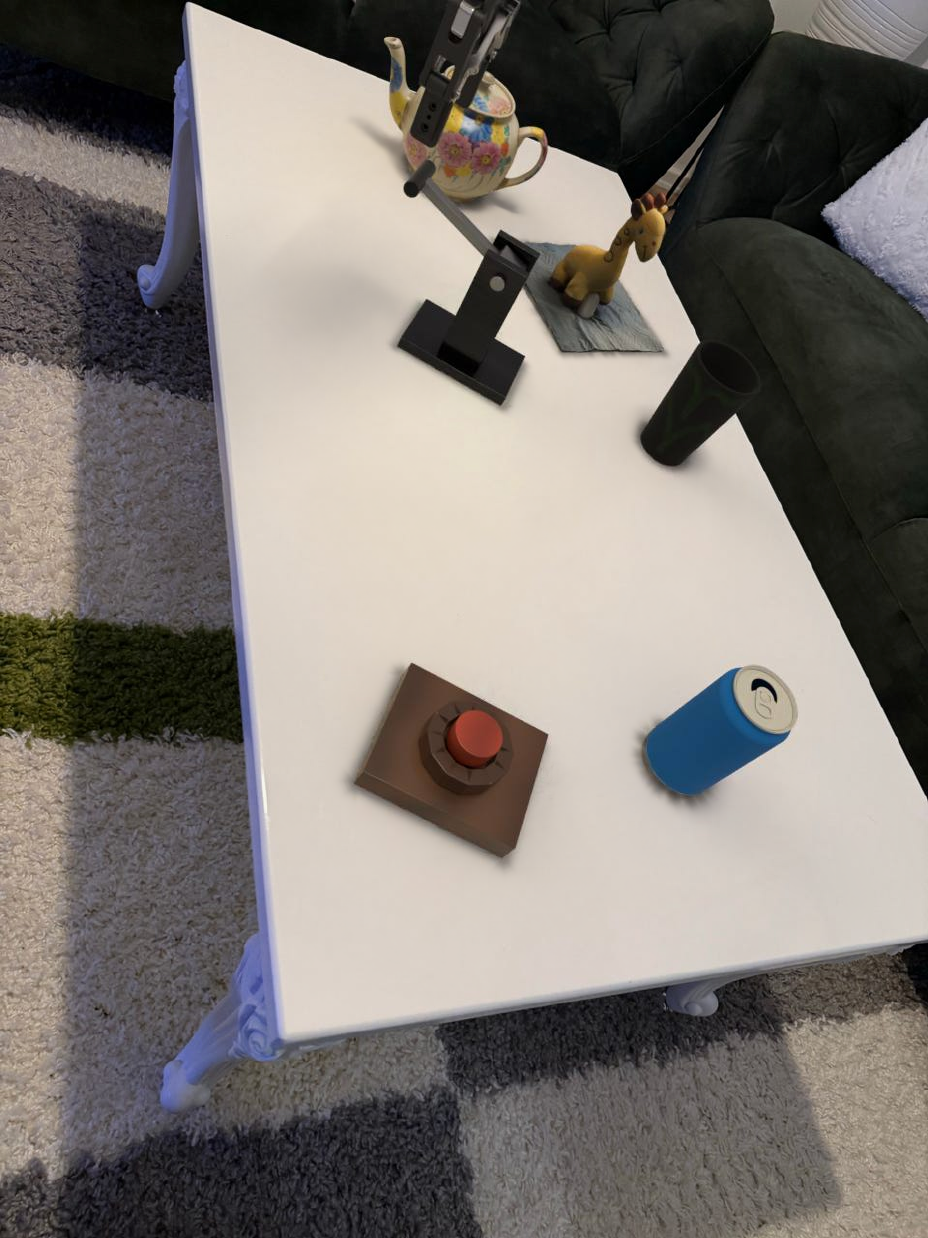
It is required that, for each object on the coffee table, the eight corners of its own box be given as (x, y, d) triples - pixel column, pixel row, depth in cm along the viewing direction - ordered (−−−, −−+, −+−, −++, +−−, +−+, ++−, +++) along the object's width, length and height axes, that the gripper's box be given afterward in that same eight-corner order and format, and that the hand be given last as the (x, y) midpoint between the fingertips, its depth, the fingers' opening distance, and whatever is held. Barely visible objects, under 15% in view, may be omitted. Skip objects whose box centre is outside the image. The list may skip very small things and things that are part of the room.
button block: (353, 783, 62) (371, 761, 59) (401, 675, 68) (419, 650, 65) (502, 858, 63) (527, 840, 60) (536, 745, 70) (560, 724, 67)
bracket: (396, 346, 88) (443, 238, 79) (422, 306, 94) (469, 200, 84) (500, 406, 90) (559, 307, 80) (520, 364, 95) (578, 266, 85)
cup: (627, 413, 98) (690, 330, 89) (684, 429, 101) (751, 351, 92) (638, 465, 94) (706, 383, 85) (697, 480, 97) (769, 403, 87)
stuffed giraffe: (561, 350, 99) (639, 226, 87) (493, 245, 106) (557, 116, 94) (660, 354, 108) (743, 241, 96) (591, 256, 115) (661, 140, 103)
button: (439, 752, 61) (448, 742, 60) (455, 712, 64) (464, 701, 62) (484, 775, 62) (494, 766, 61) (498, 734, 64) (508, 724, 63)
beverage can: (709, 745, 77) (803, 681, 68) (703, 811, 73) (802, 752, 64) (645, 715, 76) (732, 646, 67) (636, 779, 72) (727, 715, 63)
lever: (396, 192, 78) (412, 173, 77) (415, 170, 82) (430, 151, 80) (500, 300, 83) (517, 284, 81) (514, 275, 86) (531, 259, 85)
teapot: (497, 163, 116) (543, 62, 106) (522, 230, 110) (574, 129, 100) (352, 122, 107) (387, 8, 97) (370, 192, 101) (410, 78, 91)
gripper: (513, -168, 61) (427, 65, 73) (449, -134, 52) (364, 126, 64) (605, -105, 62) (505, 115, 74) (559, -60, 53) (454, 182, 65)
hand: (440, 120), depth 69 cm, fingers open, 8 cm apart
